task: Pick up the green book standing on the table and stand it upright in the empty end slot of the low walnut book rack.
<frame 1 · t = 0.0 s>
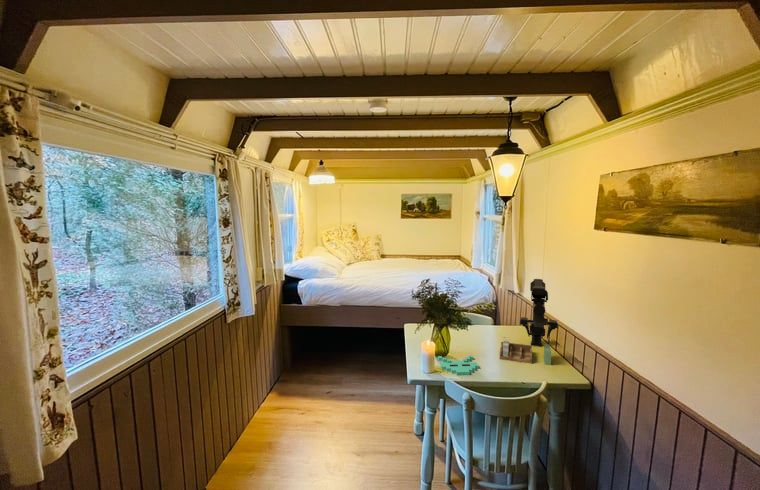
hand: (538, 337, 186), 15 cm above the table, tool pointing down, fingers open, 9 cm apart
book rack: (515, 356, 196), on the table
green book: (547, 361, 189), on the table
alien figure: (458, 367, 185), on the table
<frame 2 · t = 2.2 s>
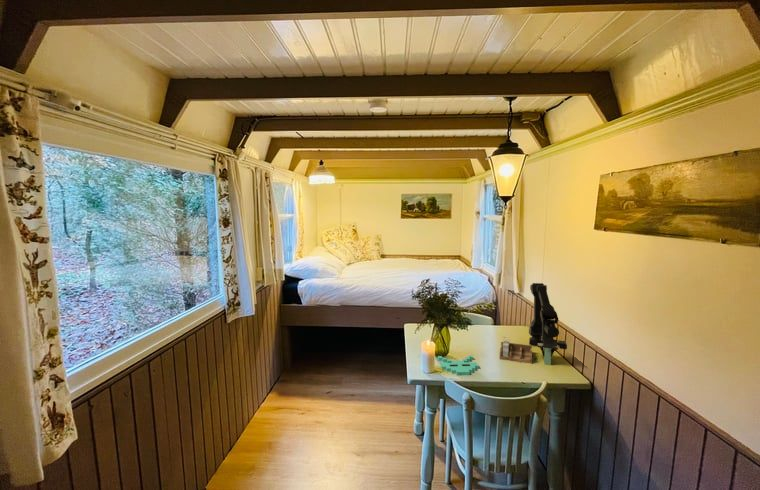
hand: (547, 357, 189), 2 cm above the table, tool pointing down, fingers closed on green book, 3 cm apart
green book: (547, 361, 189), on the table, touching gripper
everything else where it was.
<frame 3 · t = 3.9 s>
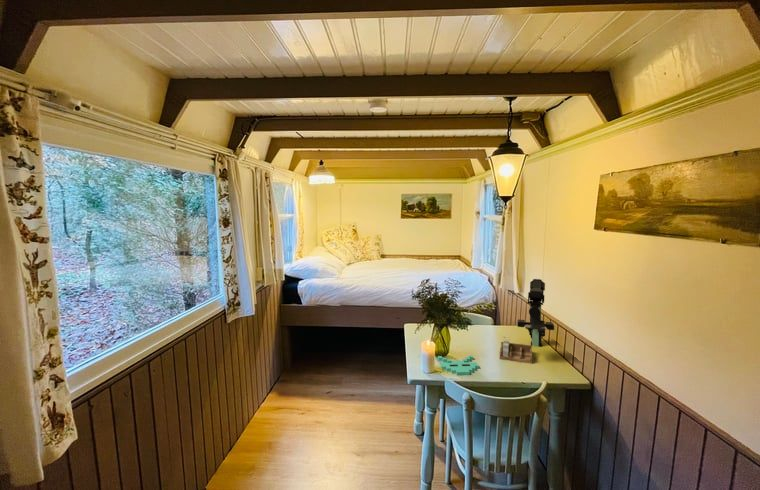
hand: (535, 339, 190), 12 cm above the table, tool pointing down, fingers closed on green book, 3 cm apart
green book: (535, 342, 190), point 10 cm above the table, touching gripper
everything else where it was.
when the fingers open (5 cm above the table, at t = 5.5 s): green book drops 1 cm, resting on book rack.
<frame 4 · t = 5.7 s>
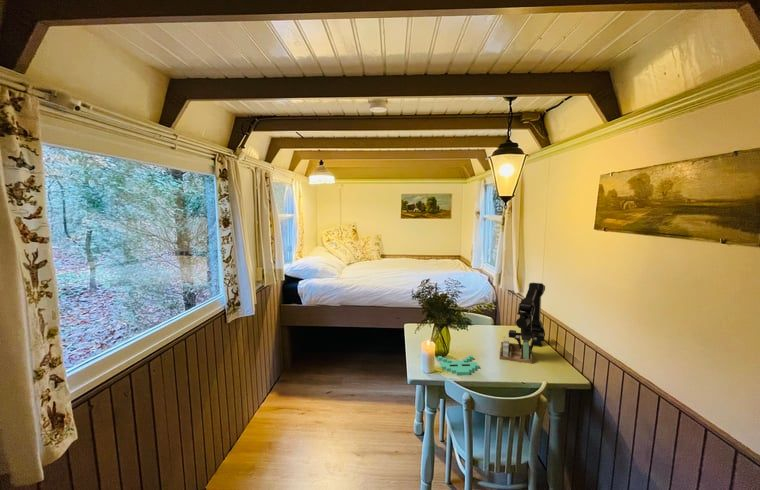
hand: (525, 349, 193), 5 cm above the table, tool pointing down, fingers open, 5 cm apart
green book: (525, 355, 193), point 1 cm above the table, touching book rack
everything else where it was.
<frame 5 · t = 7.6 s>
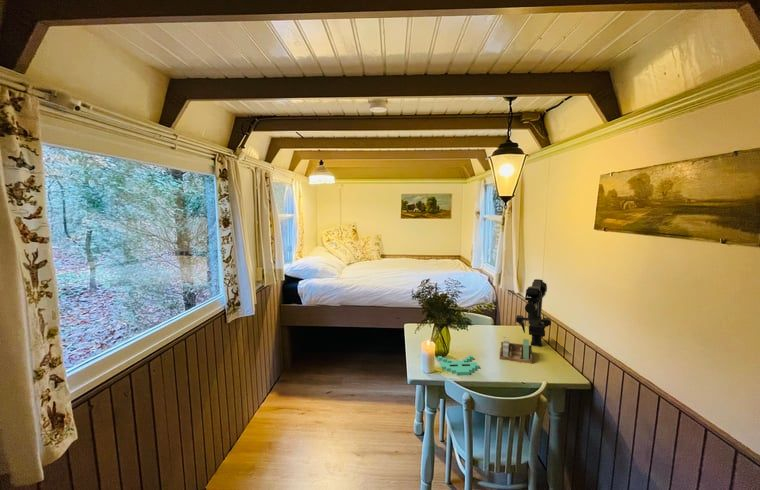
hand: (532, 333, 199), 12 cm above the table, tool pointing down, fingers open, 9 cm apart
nothing on the table moved.
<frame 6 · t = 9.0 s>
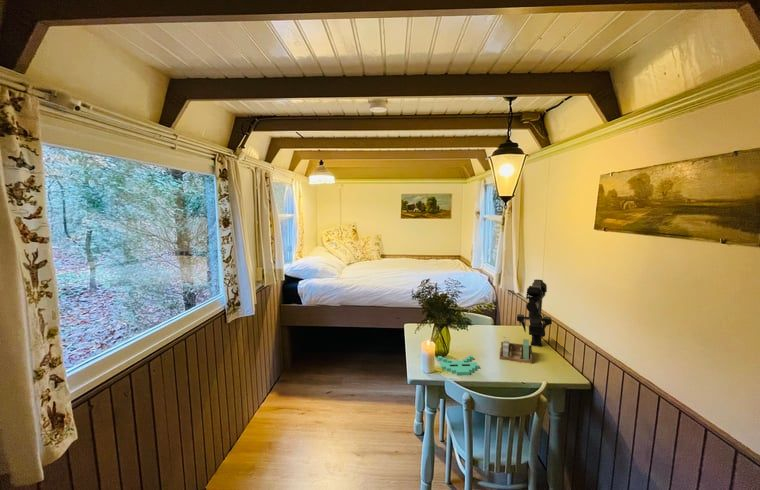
hand: (533, 333, 200), 12 cm above the table, tool pointing down, fingers open, 9 cm apart
nothing on the table moved.
at the end: green book 0.0 cm from the target spot on the book rack, point 1.5 cm above the book rack's base; green book tilted 0°; the gripper is holding nothing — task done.
